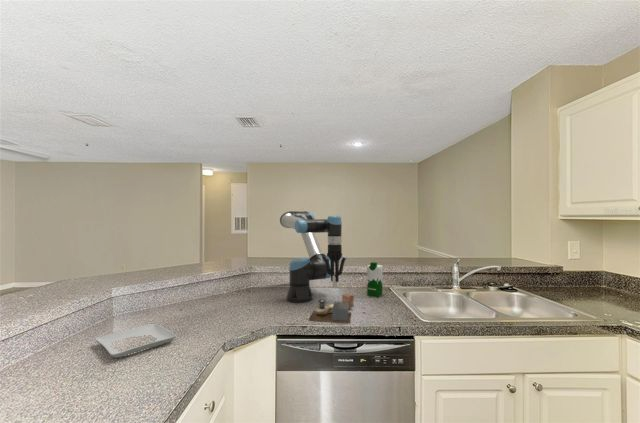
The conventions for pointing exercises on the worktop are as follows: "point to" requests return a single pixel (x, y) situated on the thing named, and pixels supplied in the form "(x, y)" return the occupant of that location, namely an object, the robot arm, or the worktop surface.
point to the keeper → (333, 313)
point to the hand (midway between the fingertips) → (334, 287)
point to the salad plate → (150, 329)
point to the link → (329, 308)
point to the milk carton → (374, 279)
